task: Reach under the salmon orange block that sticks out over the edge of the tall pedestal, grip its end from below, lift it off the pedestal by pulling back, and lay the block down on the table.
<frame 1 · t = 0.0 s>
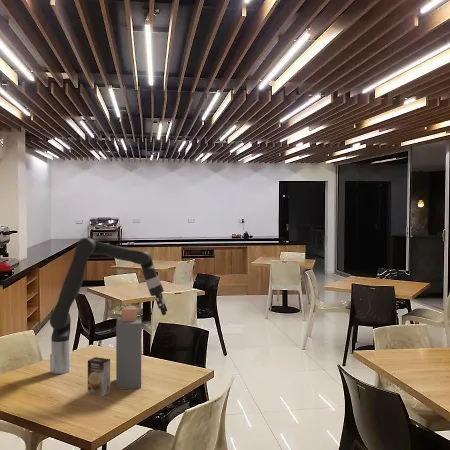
hand: (165, 313, 263), 31 cm above the table, tool tilted 20°, fingers open, 8 cm apart
pedestal: (129, 383, 243), on the table
salmon orange block: (129, 317, 249), point 32 cm above the table, touching pedestal
coffee box: (98, 393, 229), on the table
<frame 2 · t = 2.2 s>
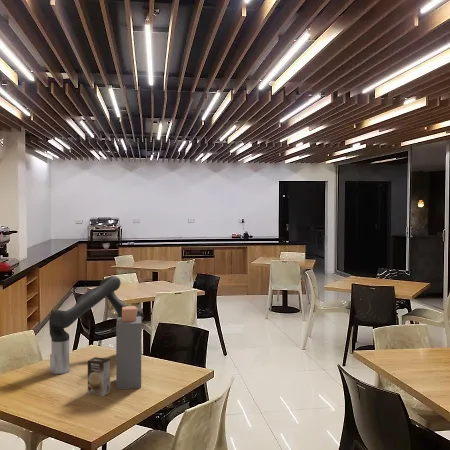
hand: (130, 312, 271), 30 cm above the table, tool pointing upward, fingers open, 8 cm apart
nothing on the table moved.
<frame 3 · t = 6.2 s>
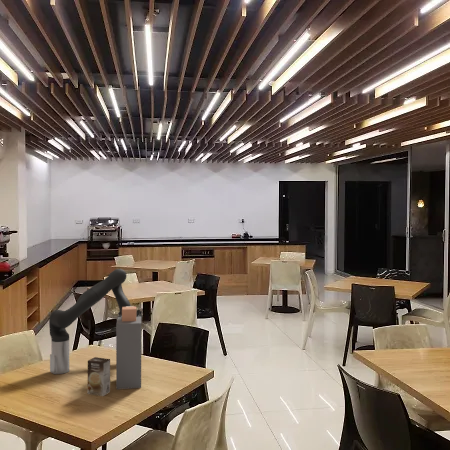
hand: (129, 309, 253), 35 cm above the table, tool pointing upward, fingers closed on salmon orange block, 4 cm apart
salmon orange block: (129, 317, 249), point 32 cm above the table, touching gripper, pedestal
everything else where it was.
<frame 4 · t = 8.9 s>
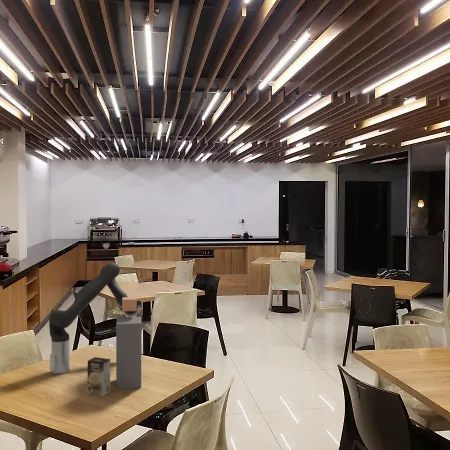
hand: (130, 299, 260), 39 cm above the table, tool pointing upward, fingers closed on salmon orange block, 4 cm apart
salmon orange block: (129, 307, 256), point 36 cm above the table, touching gripper
everything else where it was.
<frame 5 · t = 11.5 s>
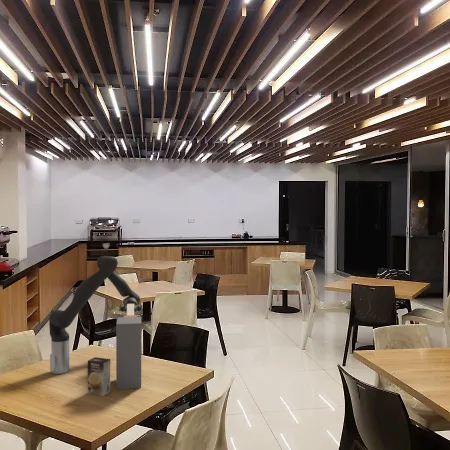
hand: (130, 310, 268), 32 cm above the table, tool horizontal, fingers closed on salmon orange block, 4 cm apart
salmon orange block: (130, 320, 266), point 27 cm above the table, tilted 30°, touching gripper
everything else where it was.
when the fingers open (11 cm above the table, at t = 16.0 s): salmon orange block drops 6 cm, on the table.
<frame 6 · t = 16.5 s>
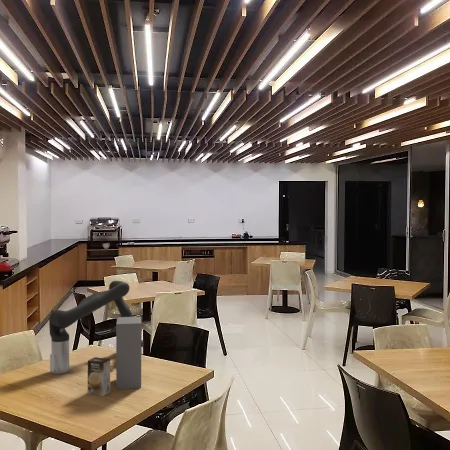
hand: (130, 347, 269), 11 cm above the table, tool horizontal, fingers open, 8 cm apart
salmon orange block: (130, 367, 269), on the table
everything else where it was.
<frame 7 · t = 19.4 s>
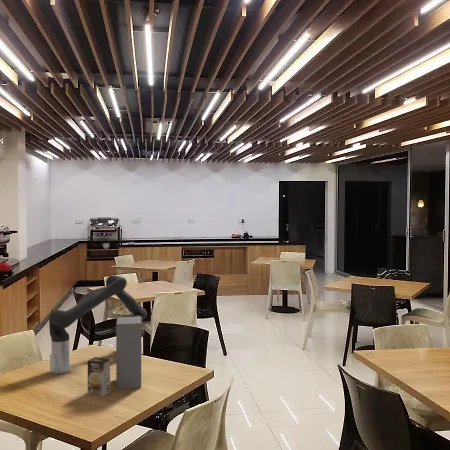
hand: (129, 340, 280), 12 cm above the table, tool tilted 75°, fingers open, 8 cm apart
nothing on the table moved.
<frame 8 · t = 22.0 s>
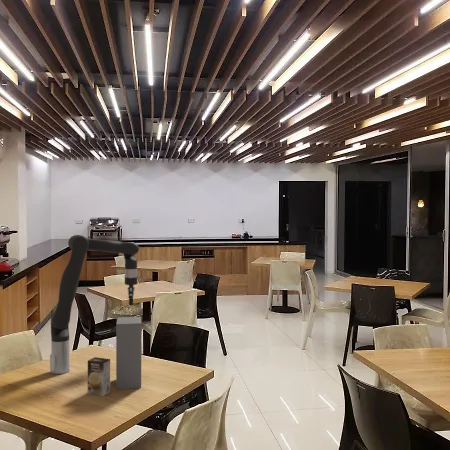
hand: (131, 303, 282), 33 cm above the table, tool pointing down, fingers open, 8 cm apart
nothing on the table moved.
at the end: salmon orange block on the table; salmon orange block touching table; the gripper is holding nothing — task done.
